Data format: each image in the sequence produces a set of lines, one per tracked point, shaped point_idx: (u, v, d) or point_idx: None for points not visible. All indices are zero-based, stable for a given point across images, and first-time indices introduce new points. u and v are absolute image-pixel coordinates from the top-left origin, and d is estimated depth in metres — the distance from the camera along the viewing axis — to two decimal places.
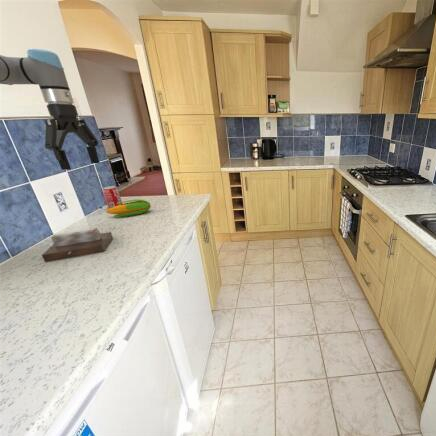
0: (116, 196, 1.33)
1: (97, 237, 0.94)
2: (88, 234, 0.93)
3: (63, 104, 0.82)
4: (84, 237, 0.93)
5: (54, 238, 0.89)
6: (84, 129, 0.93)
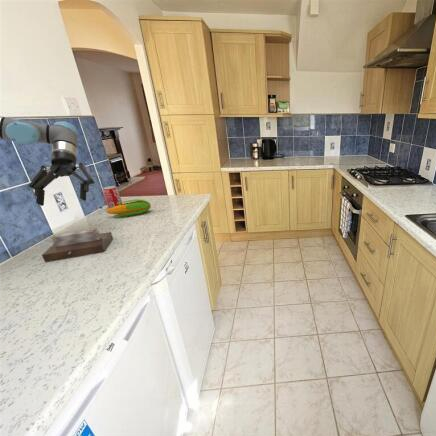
0: (116, 196, 1.33)
1: (97, 237, 0.94)
2: (88, 234, 0.93)
3: None
4: (84, 237, 0.93)
5: (54, 238, 0.89)
6: (44, 175, 0.95)
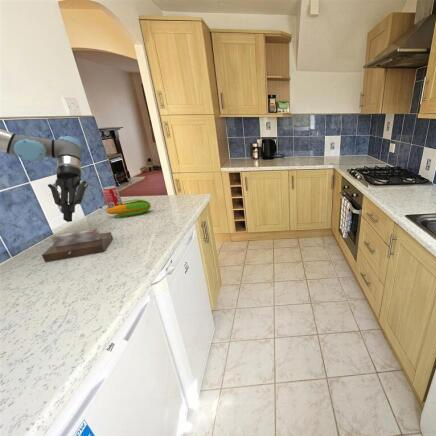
0: (116, 196, 1.33)
1: (97, 237, 0.94)
2: (88, 234, 0.93)
3: None
4: (84, 237, 0.93)
5: (54, 238, 0.89)
6: (57, 191, 0.98)
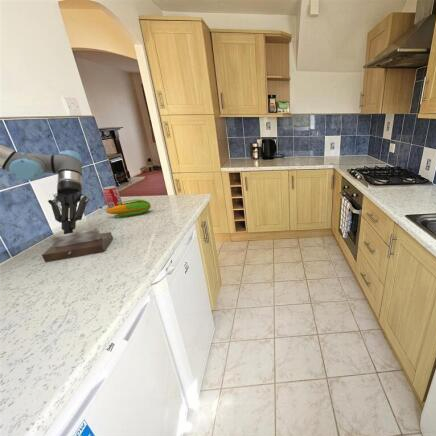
0: (116, 196, 1.33)
1: (98, 236, 0.95)
2: (89, 234, 0.93)
3: None
4: (84, 237, 0.93)
5: (54, 239, 0.89)
6: (57, 207, 0.97)
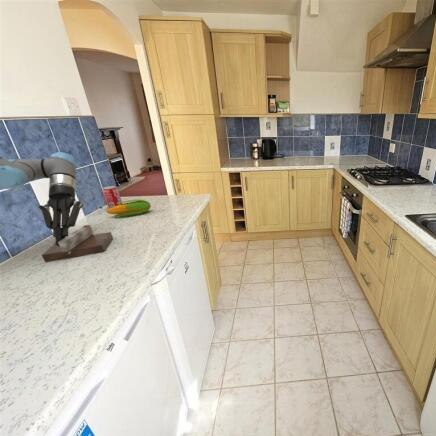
0: (116, 196, 1.33)
1: (92, 231, 0.99)
2: (86, 230, 0.96)
3: None
4: (84, 234, 0.95)
5: (66, 241, 0.87)
6: (49, 213, 0.91)
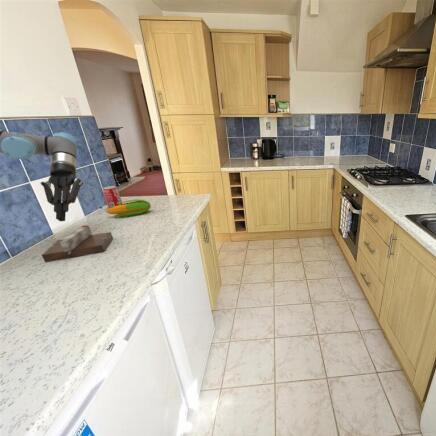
0: (116, 196, 1.33)
1: (90, 231, 0.99)
2: (85, 230, 0.96)
3: None
4: (83, 234, 0.95)
5: (68, 241, 0.87)
6: (50, 189, 0.94)
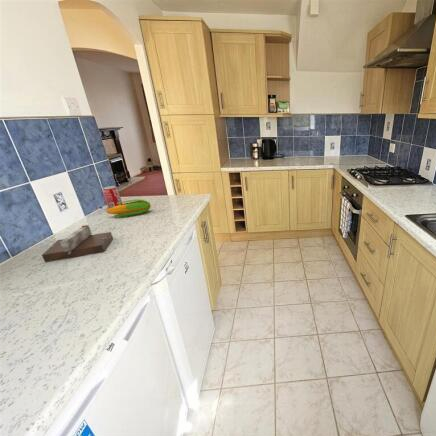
0: (116, 196, 1.33)
1: (90, 231, 0.99)
2: (85, 230, 0.96)
3: None
4: (83, 234, 0.95)
5: (68, 241, 0.87)
6: None
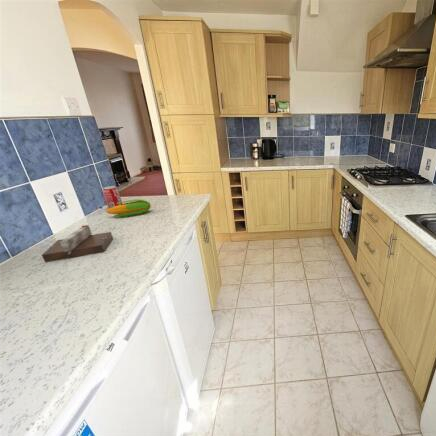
0: (116, 196, 1.33)
1: (90, 231, 0.99)
2: (85, 230, 0.96)
3: None
4: (83, 234, 0.95)
5: (68, 241, 0.87)
6: None
